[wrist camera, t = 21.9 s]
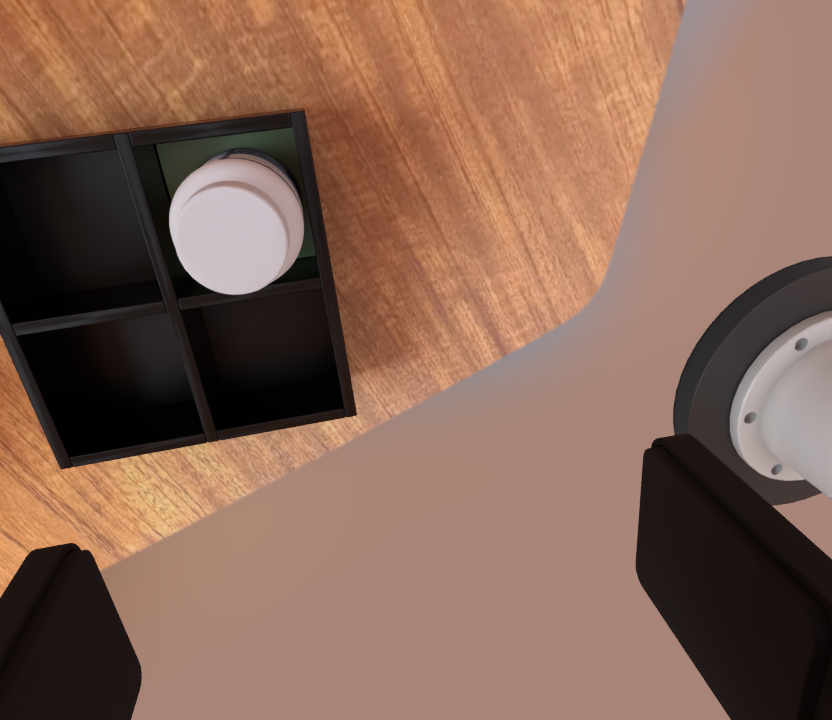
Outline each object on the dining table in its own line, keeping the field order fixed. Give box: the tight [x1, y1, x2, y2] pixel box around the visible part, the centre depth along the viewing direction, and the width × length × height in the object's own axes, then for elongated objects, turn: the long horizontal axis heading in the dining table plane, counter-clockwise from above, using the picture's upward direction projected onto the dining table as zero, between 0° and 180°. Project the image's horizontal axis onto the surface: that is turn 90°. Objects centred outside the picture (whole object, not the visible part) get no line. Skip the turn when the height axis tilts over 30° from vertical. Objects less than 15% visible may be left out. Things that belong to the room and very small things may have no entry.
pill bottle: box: [169, 148, 304, 295], centre depth 25 cm, size 5×5×9 cm
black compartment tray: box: [0, 108, 357, 469], centre depth 29 cm, size 15×15×5 cm
